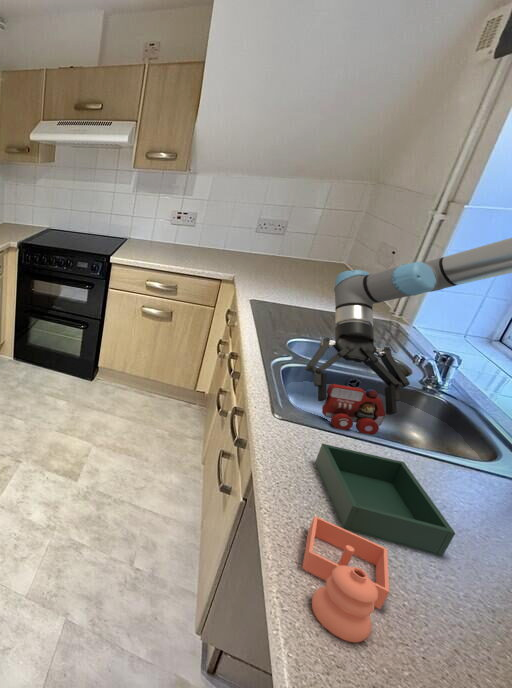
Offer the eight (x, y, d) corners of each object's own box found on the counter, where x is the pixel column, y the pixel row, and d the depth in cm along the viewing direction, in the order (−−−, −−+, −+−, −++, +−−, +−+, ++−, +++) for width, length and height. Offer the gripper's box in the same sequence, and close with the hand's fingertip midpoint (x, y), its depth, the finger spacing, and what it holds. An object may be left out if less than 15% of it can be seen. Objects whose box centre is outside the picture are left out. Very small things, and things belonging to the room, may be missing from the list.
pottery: (307, 533, 72) (324, 490, 69) (378, 567, 67) (400, 522, 63) (293, 615, 59) (313, 567, 56) (379, 666, 54) (408, 616, 50)
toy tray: (393, 484, 84) (404, 461, 82) (441, 558, 68) (455, 533, 66) (313, 465, 88) (322, 443, 86) (342, 530, 73) (352, 505, 71)
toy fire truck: (385, 439, 97) (401, 401, 93) (323, 428, 100) (336, 391, 97) (370, 422, 103) (385, 386, 99) (313, 411, 107) (325, 377, 103)
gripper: (406, 340, 106) (412, 422, 98) (292, 323, 114) (289, 397, 107) (424, 329, 99) (432, 416, 92) (302, 312, 108) (300, 390, 100)
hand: (355, 406), depth 99 cm, fingers open, 13 cm apart
